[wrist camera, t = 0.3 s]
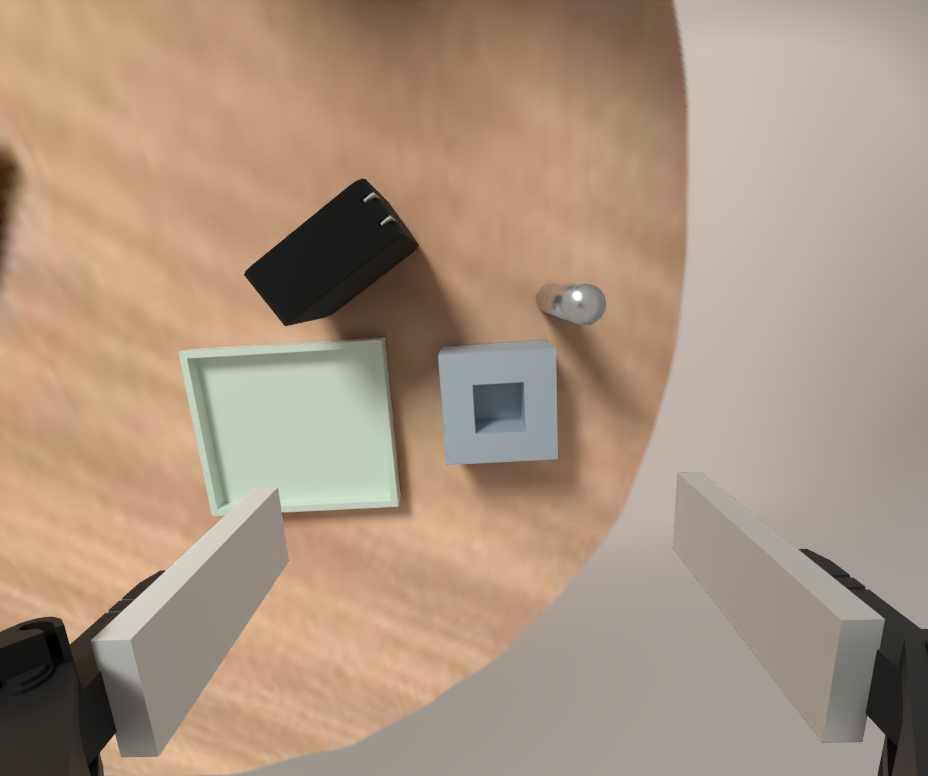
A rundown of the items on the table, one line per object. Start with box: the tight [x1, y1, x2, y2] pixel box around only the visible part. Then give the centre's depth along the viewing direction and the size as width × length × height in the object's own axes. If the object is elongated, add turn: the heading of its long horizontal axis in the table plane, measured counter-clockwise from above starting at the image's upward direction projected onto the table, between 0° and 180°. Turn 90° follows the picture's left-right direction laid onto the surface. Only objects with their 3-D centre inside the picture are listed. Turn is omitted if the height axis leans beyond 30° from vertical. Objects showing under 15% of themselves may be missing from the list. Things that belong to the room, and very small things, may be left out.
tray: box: [179, 337, 401, 516], centre depth 40 cm, size 15×17×2 cm
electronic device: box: [244, 179, 419, 326], centre depth 33 cm, size 4×10×10 cm, turn 126°
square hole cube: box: [438, 340, 558, 465], centre depth 38 cm, size 9×9×5 cm
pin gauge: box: [536, 284, 606, 325], centre depth 32 cm, size 2×2×12 cm
